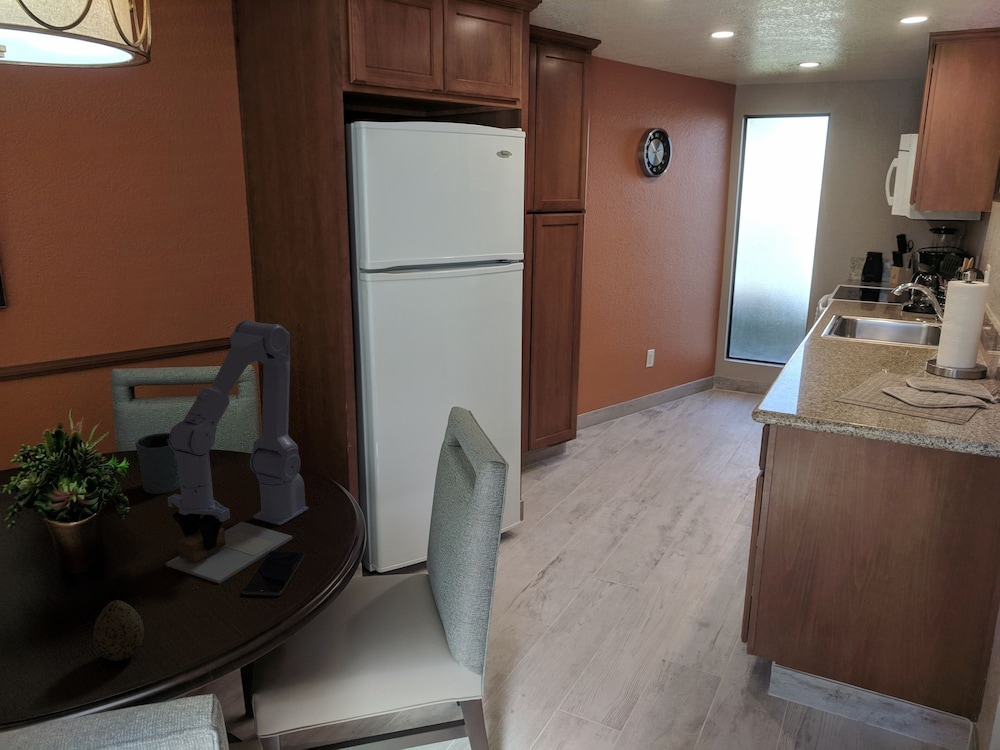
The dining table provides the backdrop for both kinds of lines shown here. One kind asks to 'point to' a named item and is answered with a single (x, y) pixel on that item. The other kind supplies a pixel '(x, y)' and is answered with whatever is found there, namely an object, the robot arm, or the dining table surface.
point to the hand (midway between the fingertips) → (202, 545)
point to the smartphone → (273, 573)
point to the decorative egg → (118, 631)
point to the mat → (233, 552)
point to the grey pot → (157, 464)
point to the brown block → (197, 546)
